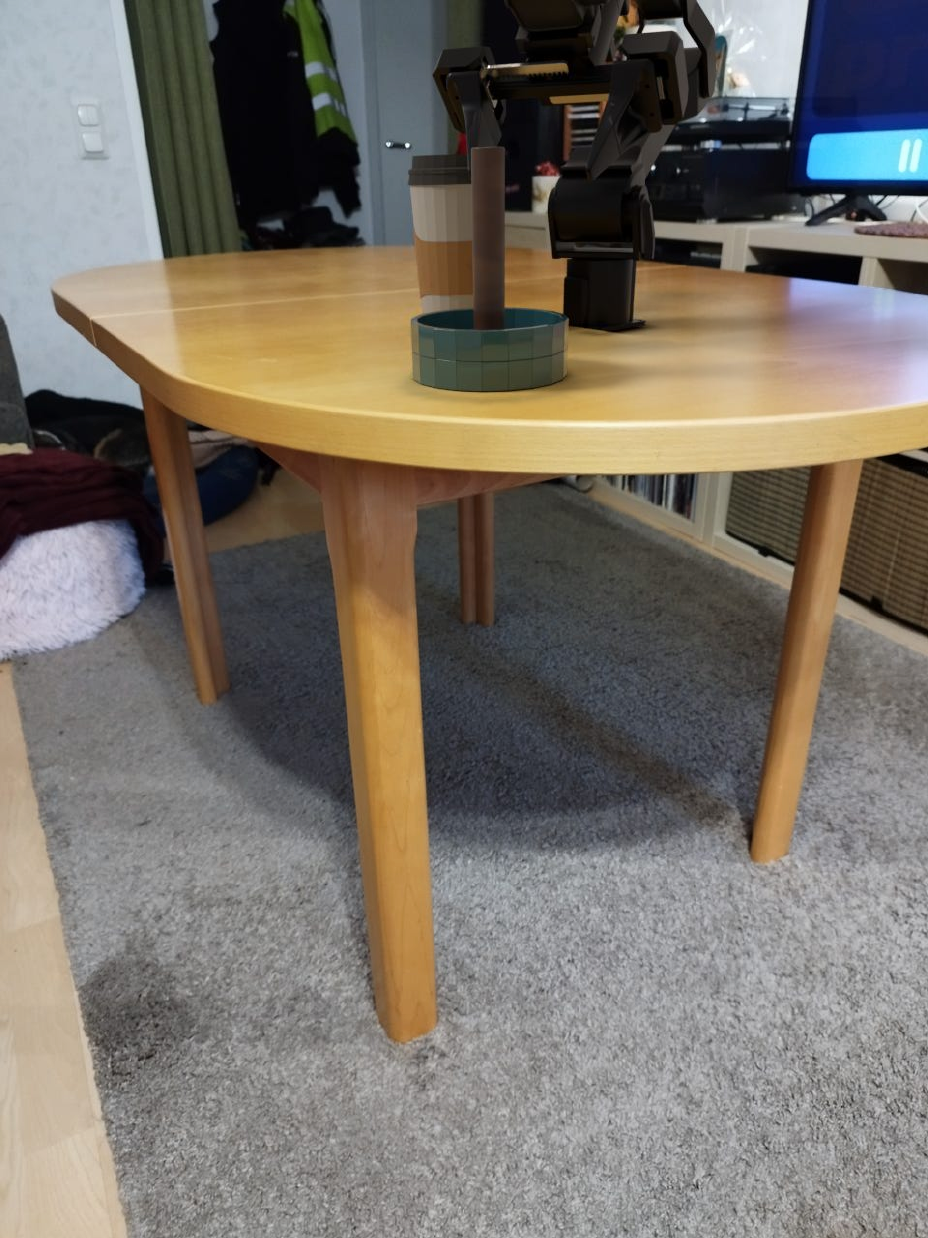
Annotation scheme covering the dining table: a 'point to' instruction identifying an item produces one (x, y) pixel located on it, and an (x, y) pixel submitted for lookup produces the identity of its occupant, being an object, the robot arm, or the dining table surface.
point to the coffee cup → (442, 230)
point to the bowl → (489, 350)
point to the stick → (488, 237)
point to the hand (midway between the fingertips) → (529, 176)
